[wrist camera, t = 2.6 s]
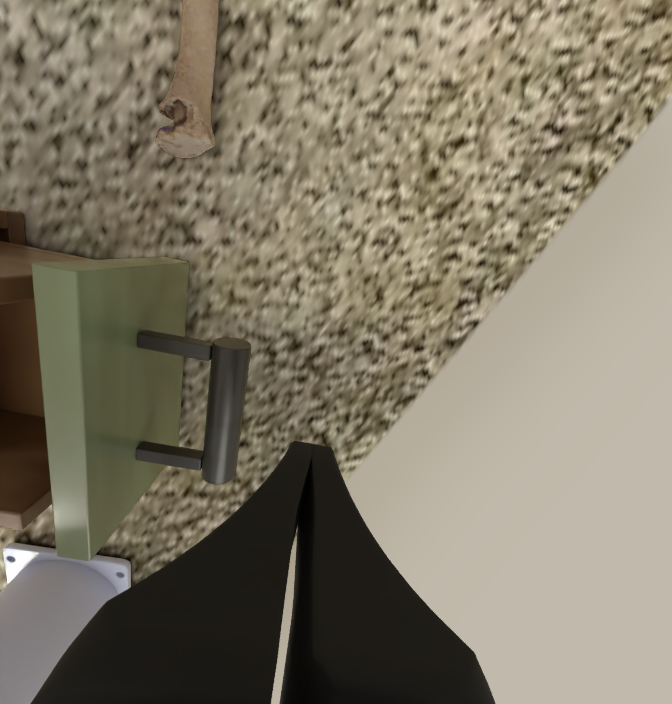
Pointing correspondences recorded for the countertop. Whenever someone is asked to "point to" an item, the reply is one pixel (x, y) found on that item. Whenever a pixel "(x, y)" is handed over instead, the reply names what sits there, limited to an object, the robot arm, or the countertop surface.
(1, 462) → the drawer
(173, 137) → the bone
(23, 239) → the cabinet
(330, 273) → the countertop surface
